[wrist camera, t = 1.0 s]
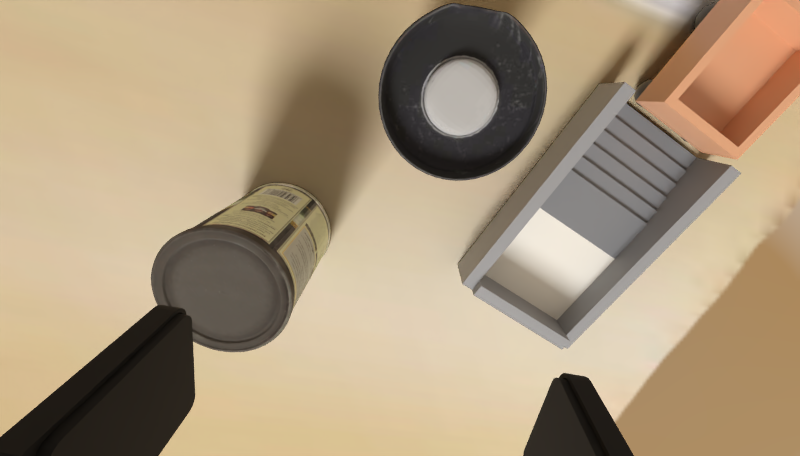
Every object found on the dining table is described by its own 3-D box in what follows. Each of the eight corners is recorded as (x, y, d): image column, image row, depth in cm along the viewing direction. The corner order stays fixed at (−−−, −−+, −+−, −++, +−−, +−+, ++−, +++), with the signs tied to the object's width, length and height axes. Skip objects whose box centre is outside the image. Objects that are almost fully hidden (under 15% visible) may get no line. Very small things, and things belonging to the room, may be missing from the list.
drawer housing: (599, 83, 34) (631, 81, 29) (703, 164, 36) (751, 175, 31) (457, 264, 41) (463, 288, 36) (552, 323, 43) (571, 355, 38)
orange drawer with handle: (707, -5, 32) (797, -36, 24) (771, 51, 33) (876, 38, 25) (621, 100, 35) (677, 102, 27) (683, 148, 36) (753, 162, 28)
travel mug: (426, 153, 37) (437, 214, 18) (380, 86, 35) (340, 77, 16) (493, 106, 35) (582, 119, 17) (449, 33, 33) (492, -47, 15)
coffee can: (253, 277, 43) (179, 360, 29) (224, 190, 39) (127, 238, 26) (341, 265, 42) (306, 345, 28) (319, 175, 38) (269, 217, 25)
